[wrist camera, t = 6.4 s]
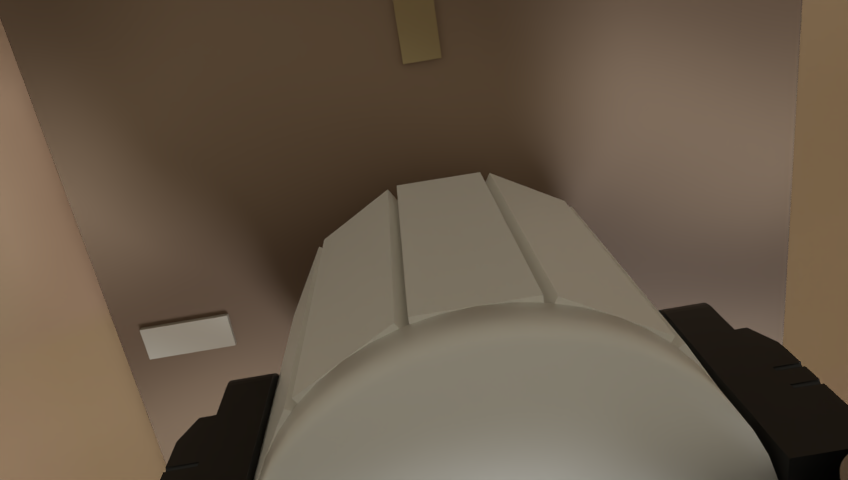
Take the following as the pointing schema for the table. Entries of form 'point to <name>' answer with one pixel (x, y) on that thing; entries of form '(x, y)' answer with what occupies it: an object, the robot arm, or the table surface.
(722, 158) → the post base
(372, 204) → the cap
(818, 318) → the table surface
